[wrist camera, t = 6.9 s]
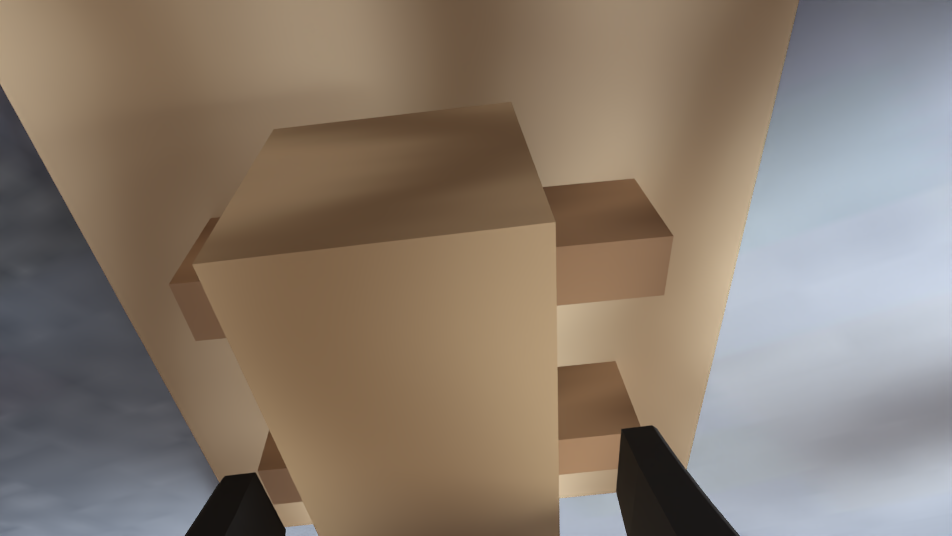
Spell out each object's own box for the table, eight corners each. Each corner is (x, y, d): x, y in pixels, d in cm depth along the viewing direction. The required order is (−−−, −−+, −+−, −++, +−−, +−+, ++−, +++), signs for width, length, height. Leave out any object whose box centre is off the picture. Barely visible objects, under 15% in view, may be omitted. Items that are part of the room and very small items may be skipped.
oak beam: (511, 102, 9) (555, 222, 6) (534, 508, 16) (561, 667, 13) (273, 129, 9) (192, 264, 6) (397, 525, 16) (389, 688, 13)
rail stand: (798, -97, 11) (923, -87, 8) (674, 466, 21) (711, 555, 19) (-29, -28, 11) (-187, 7, 8) (251, 510, 21) (225, 607, 18)
